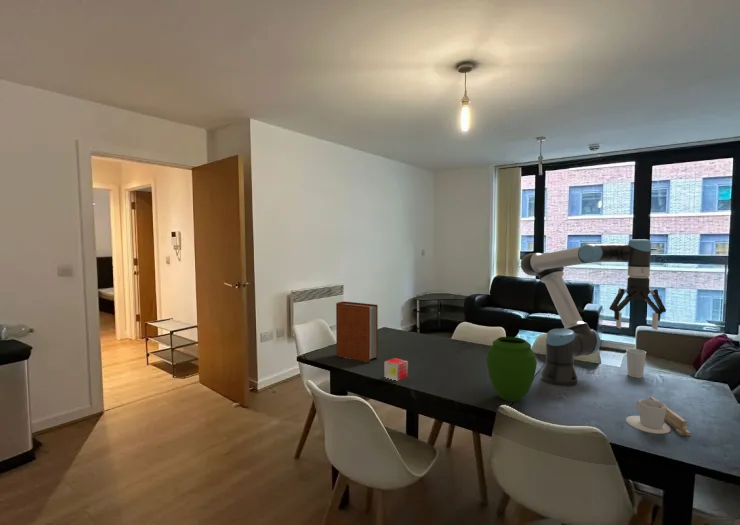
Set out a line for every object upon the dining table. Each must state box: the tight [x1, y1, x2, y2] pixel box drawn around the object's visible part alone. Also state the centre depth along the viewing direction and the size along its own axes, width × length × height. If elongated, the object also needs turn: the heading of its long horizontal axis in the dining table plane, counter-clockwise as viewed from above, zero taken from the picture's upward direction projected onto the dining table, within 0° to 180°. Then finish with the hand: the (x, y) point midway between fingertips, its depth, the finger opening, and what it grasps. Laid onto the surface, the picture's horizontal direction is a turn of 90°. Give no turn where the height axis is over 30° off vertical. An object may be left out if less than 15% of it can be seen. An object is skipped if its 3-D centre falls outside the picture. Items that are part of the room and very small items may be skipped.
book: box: [335, 301, 379, 363], centre depth 221 cm, size 23×8×30 cm, turn 58°
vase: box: [486, 336, 538, 403], centre depth 165 cm, size 20×20×24 cm
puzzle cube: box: [383, 357, 409, 382], centre depth 190 cm, size 8×8×8 cm
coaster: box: [625, 415, 671, 435], centre depth 142 cm, size 13×13×1 cm
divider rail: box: [649, 396, 691, 436], centre depth 145 cm, size 3×22×4 cm, turn 171°
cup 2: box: [635, 398, 667, 429], centre depth 141 cm, size 11×8×8 cm
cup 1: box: [626, 348, 647, 379], centre depth 192 cm, size 8×8×12 cm
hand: (636, 328), depth 165 cm, fingers open, 13 cm apart
